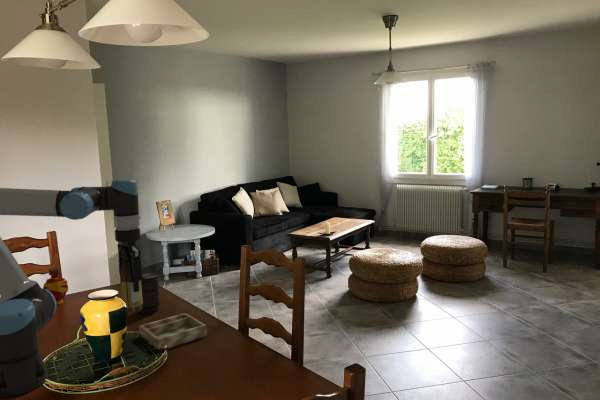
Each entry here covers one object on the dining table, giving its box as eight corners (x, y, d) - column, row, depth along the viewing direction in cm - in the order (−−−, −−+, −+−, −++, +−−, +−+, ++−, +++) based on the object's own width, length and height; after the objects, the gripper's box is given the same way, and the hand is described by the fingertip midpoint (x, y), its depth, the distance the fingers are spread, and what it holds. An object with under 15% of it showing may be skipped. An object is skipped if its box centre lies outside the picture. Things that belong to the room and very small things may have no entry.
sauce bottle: (146, 306, 154) (143, 247, 151) (138, 313, 148) (134, 252, 145) (127, 306, 155) (123, 247, 152) (118, 313, 148) (114, 252, 146)
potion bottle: (38, 307, 198) (35, 272, 196) (52, 298, 208) (49, 266, 207) (62, 306, 198) (59, 272, 196) (75, 298, 208) (72, 265, 206)
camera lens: (149, 315, 186) (147, 279, 184) (135, 312, 190) (132, 276, 188) (164, 309, 192) (162, 274, 190) (150, 306, 196) (148, 271, 195)
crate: (158, 351, 154) (157, 339, 153) (139, 336, 166) (139, 325, 166) (207, 335, 165) (206, 325, 165) (186, 322, 178) (185, 312, 177)
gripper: (151, 230, 143) (155, 303, 146) (128, 222, 157) (132, 288, 160) (126, 234, 138) (131, 309, 141) (105, 225, 153) (109, 293, 156)
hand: (131, 298), depth 151 cm, fingers closed on sauce bottle, 6 cm apart
